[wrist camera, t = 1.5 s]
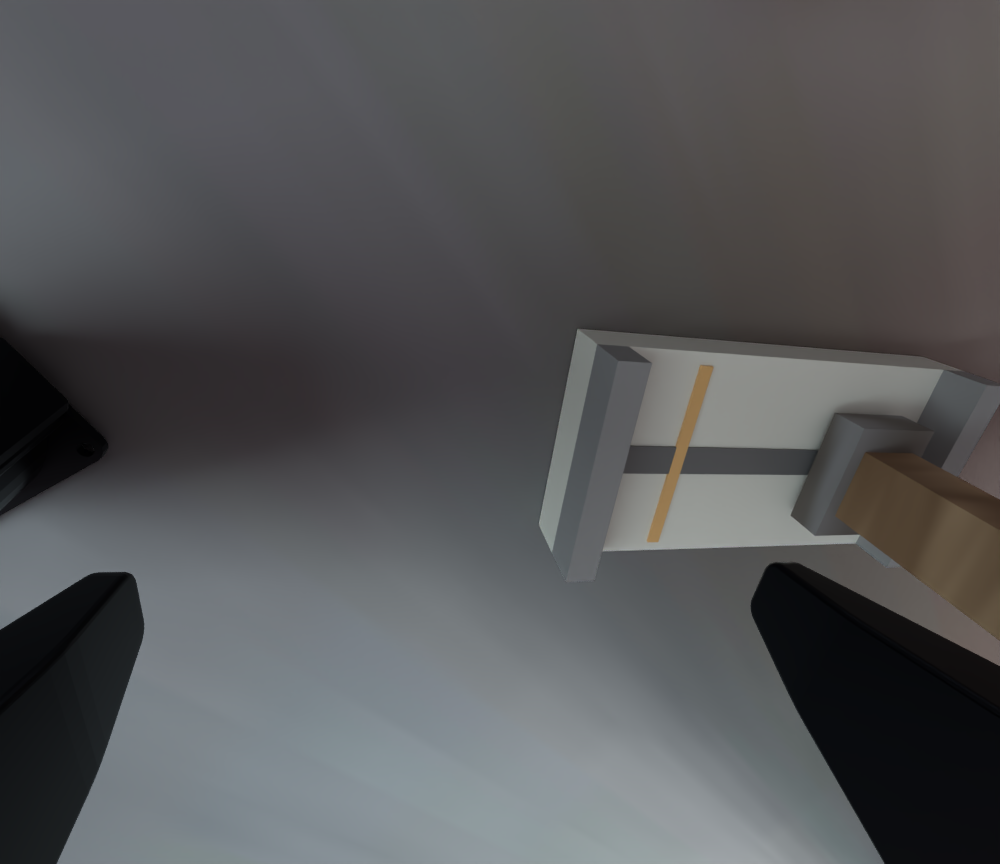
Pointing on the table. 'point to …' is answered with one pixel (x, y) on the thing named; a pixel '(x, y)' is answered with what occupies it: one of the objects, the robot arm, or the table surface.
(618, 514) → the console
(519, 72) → the table surface
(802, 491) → the fader
